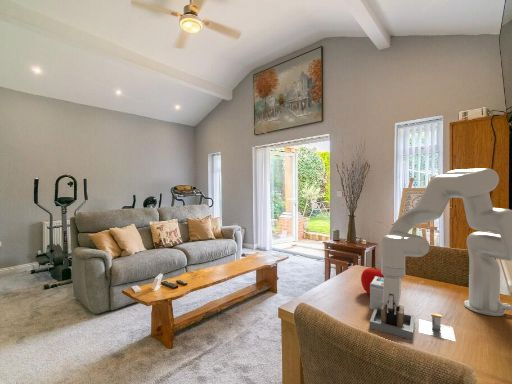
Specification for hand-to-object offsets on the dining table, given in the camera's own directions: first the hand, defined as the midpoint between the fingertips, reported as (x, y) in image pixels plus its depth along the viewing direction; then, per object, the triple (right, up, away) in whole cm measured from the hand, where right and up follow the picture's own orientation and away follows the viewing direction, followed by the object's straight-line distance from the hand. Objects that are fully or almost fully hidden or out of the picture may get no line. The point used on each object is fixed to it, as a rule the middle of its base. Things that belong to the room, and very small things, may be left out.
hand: (392, 319), depth 93 cm
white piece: (+14, -3, -3) cm, 14 cm away
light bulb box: (+4, -3, +17) cm, 18 cm away
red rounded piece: (+6, -2, +28) cm, 29 cm away
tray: (0, -3, 0) cm, 3 cm away
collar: (0, 0, 0) cm, 0 cm away
